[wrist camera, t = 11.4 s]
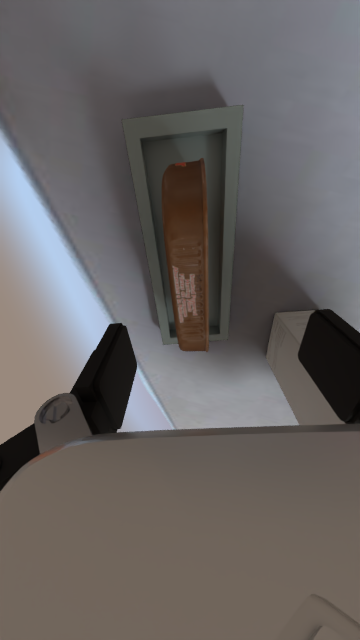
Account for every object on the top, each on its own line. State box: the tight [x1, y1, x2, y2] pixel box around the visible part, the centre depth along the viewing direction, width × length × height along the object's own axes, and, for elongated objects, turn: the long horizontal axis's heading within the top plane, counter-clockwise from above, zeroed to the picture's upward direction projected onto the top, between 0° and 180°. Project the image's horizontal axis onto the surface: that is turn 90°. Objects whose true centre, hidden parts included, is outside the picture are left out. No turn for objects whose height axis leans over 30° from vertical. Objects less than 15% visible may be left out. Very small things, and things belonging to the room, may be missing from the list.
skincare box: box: [266, 310, 345, 425], centre depth 21 cm, size 8×6×15 cm
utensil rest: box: [122, 105, 243, 345], centre depth 20 cm, size 20×8×2 cm, turn 5°
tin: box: [161, 158, 209, 352], centre depth 17 cm, size 15×3×8 cm, turn 5°
